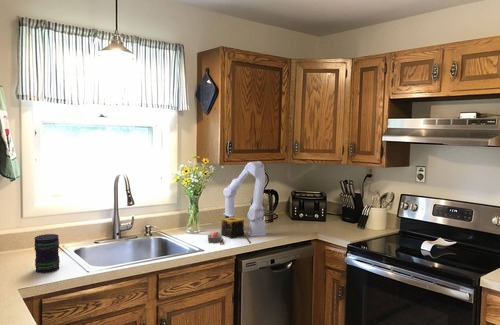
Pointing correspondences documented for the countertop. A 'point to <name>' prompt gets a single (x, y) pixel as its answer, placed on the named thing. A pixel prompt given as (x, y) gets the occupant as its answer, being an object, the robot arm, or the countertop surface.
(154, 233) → the countertop surface
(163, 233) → the countertop surface
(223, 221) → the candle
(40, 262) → the storage jar
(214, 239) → the button box
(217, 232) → the track
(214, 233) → the dome
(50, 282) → the countertop surface
